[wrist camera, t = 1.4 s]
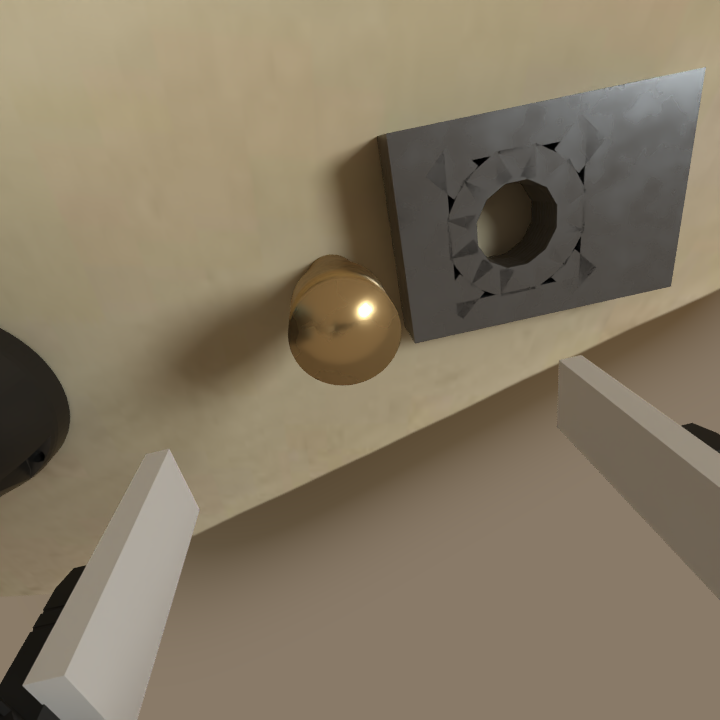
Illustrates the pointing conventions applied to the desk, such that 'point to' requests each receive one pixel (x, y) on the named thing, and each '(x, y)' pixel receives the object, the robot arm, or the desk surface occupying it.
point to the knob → (342, 322)
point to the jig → (541, 203)
